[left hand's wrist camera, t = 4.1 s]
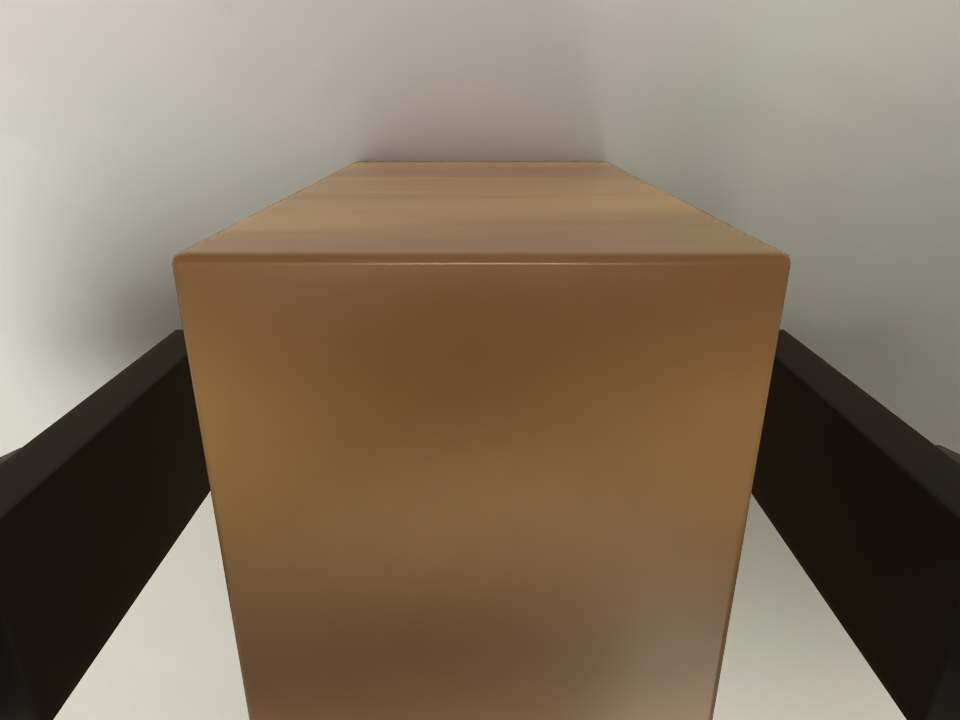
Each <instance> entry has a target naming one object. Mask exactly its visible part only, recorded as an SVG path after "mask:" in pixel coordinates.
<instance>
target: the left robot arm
mask: <svg viewBox="0 0 960 720" xmlns="http://www.w3.org/2000/svg"><path fill="white" fill-rule="evenodd" d="M210 490H211V489H210V483H209V478H208V472H207V466H206V460H205V454H204V448H203V442H202V436H201V430H200V425H199V419H198V413H197V407H196V401H195V395H194V389H193V383H192V377H191V372H190V366H189V360H188V354H187V348H186V342H185V336H184V330H175V331H174V332H173V333H171V334H170V335H169V336H167V337H166V338H165V339H164V340H162V341H161V342H160V343H158V344H157V345H156V346H154V347H153V348H152V349H150V350H149V351H148V352H147V353H145V354H144V355H143V356H141V357H140V358H139V359H137V360H136V361H135V362H133V363H132V364H131V365H130V366H128V367H127V368H126V369H124V370H123V371H122V372H120V373H119V374H118V375H116V376H115V377H114V378H113V379H111V380H110V381H109V382H107V383H106V384H105V385H103V386H102V387H101V388H99V389H98V390H97V391H96V392H94V393H93V394H92V395H90V396H89V397H88V398H86V399H85V400H84V401H82V402H81V403H80V404H79V405H77V406H76V407H75V408H73V409H72V410H71V411H69V412H68V413H67V414H65V415H64V416H63V417H61V418H60V419H59V420H58V421H56V422H55V423H54V424H52V425H51V426H50V427H48V428H47V429H46V430H44V431H43V432H42V433H41V434H39V435H38V436H37V437H35V438H34V439H33V440H31V441H30V442H29V443H27V444H26V445H25V446H24V447H22V448H19V449H17V450H15V451H13V452H11V453H8V454H6V455H4V456H2V457H0V720H53V719H54V718H55V716H56V715H57V713H58V712H59V710H60V709H61V707H62V706H63V705H64V703H65V702H66V700H67V699H68V697H69V696H70V694H71V693H72V691H73V690H74V689H75V687H76V686H77V684H78V683H79V681H80V680H81V678H82V677H83V675H84V674H85V673H86V671H87V670H88V668H89V667H90V665H91V664H92V662H93V661H94V659H95V658H96V656H97V655H98V654H99V652H100V651H101V649H102V648H103V646H104V645H105V643H106V642H107V640H108V639H109V638H110V636H111V635H112V633H113V632H114V630H115V629H116V627H117V626H118V624H119V623H120V622H121V620H122V619H123V617H124V616H125V614H126V613H127V611H128V610H129V608H130V607H131V605H132V604H133V603H134V601H135V600H136V598H137V597H138V595H139V594H140V592H141V591H142V589H143V588H144V587H145V585H146V584H147V582H148V581H149V579H150V578H151V576H152V575H153V573H154V572H155V571H156V569H157V568H158V566H159V565H160V563H161V562H162V560H163V559H164V557H165V556H166V554H167V553H168V552H169V550H170V549H171V547H172V546H173V544H174V543H175V541H176V540H177V538H178V537H179V536H180V534H181V533H182V531H183V530H184V528H185V527H186V525H187V524H188V522H189V521H190V520H191V518H192V517H193V515H194V514H195V512H196V511H197V509H198V508H199V506H200V505H201V503H202V502H203V501H204V499H205V498H206V496H207V495H208V493H209V492H210ZM751 493H752V495H753V496H754V498H755V499H756V501H757V502H758V503H759V505H760V506H761V508H762V509H763V511H764V512H765V514H766V515H767V517H768V518H769V520H770V521H771V522H772V524H773V525H774V527H775V528H776V530H777V531H778V533H779V534H780V536H781V537H782V538H783V540H784V541H785V543H786V544H787V546H788V547H789V549H790V550H791V552H792V553H793V554H794V556H795V557H796V559H797V560H798V562H799V563H800V565H801V566H802V568H803V569H804V570H805V572H806V573H807V575H808V576H809V578H810V579H811V581H812V582H813V584H814V585H815V587H816V588H817V589H818V591H819V592H820V594H821V595H822V597H823V598H824V600H825V601H826V603H827V604H828V605H829V607H830V608H831V610H832V611H833V613H834V614H835V616H836V617H837V619H838V620H839V621H840V623H841V624H842V626H843V627H844V629H845V630H846V632H847V633H848V635H849V636H850V638H851V639H852V640H853V642H854V643H855V645H856V646H857V648H858V649H859V651H860V652H861V654H862V655H863V656H864V658H865V659H866V661H867V662H868V664H869V665H870V667H871V668H872V670H873V671H874V672H875V674H876V675H877V677H878V678H879V680H880V681H881V683H882V684H883V686H884V687H885V689H886V690H887V691H888V693H889V694H890V696H891V697H892V699H893V700H894V702H895V703H896V705H897V706H898V707H899V709H900V710H901V712H902V713H903V715H904V716H905V718H906V719H907V720H960V454H958V453H955V452H953V451H951V450H949V449H947V448H945V447H943V446H940V445H934V444H933V443H931V442H930V441H929V440H927V439H926V438H925V437H923V436H922V435H921V434H919V433H918V432H917V431H916V430H914V429H913V428H912V427H910V426H909V425H908V424H906V423H905V422H904V421H902V420H901V419H900V418H899V417H897V416H896V415H895V414H893V413H892V412H891V411H889V410H888V409H887V408H885V407H884V406H883V405H882V404H880V403H879V402H878V401H876V400H875V399H874V398H872V397H871V396H870V395H868V394H867V393H866V392H864V391H863V390H862V389H861V388H859V387H858V386H857V385H855V384H854V383H853V382H851V381H850V380H849V379H847V378H846V377H845V376H844V375H842V374H841V373H840V372H838V371H837V370H836V369H834V368H833V367H832V366H830V365H829V364H828V363H827V362H825V361H824V360H823V359H821V358H820V357H819V356H817V355H816V354H815V353H813V352H812V351H811V350H810V349H808V348H807V347H806V346H804V345H803V344H802V343H800V342H799V341H798V340H796V339H795V338H794V337H793V336H791V335H790V334H789V333H787V332H786V331H785V330H779V333H778V339H777V345H776V351H775V357H774V362H773V368H772V374H771V380H770V386H769V392H768V398H767V403H766V409H765V415H764V421H763V427H762V433H761V438H760V444H759V450H758V456H757V462H756V468H755V473H754V479H753V485H752V491H751Z"/></svg>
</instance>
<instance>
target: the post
mask: <svg viewBox="0 0 960 720" xmlns="http://www.w3.org/2000/svg"><path fill="white" fill-rule="evenodd" d="M172 266H173V272H174V277H175V283H176V289H177V295H178V301H179V307H180V313H181V319H182V325H183V330H184V336H185V342H186V348H187V354H188V360H189V366H190V372H191V377H192V383H193V389H194V395H195V401H196V407H197V413H198V419H199V425H200V430H201V436H202V442H203V448H204V454H205V460H206V466H207V472H208V478H209V483H210V489H211V495H212V501H213V507H214V513H215V519H216V525H217V531H218V536H219V542H220V548H221V554H222V560H223V566H224V572H225V578H226V584H227V589H228V595H229V601H230V607H231V613H232V619H233V625H234V631H235V637H236V642H237V648H238V654H239V660H240V666H241V672H242V678H243V684H244V689H245V695H246V701H247V707H248V713H249V719H250V720H712V719H713V713H714V707H715V701H716V695H717V689H718V684H719V678H720V672H721V666H722V660H723V654H724V649H725V643H726V637H727V631H728V625H729V619H730V613H731V608H732V602H733V596H734V590H735V584H736V578H737V573H738V567H739V561H740V555H741V549H742V543H743V538H744V532H745V526H746V520H747V514H748V508H749V503H750V497H751V491H752V485H753V479H754V473H755V468H756V462H757V456H758V450H759V444H760V438H761V433H762V427H763V421H764V415H765V409H766V403H767V398H768V392H769V386H770V380H771V374H772V368H773V362H774V357H775V351H776V345H777V339H778V333H779V327H780V322H781V316H782V310H783V304H784V298H785V292H786V287H787V281H788V275H789V269H790V259H789V256H788V255H786V254H784V253H783V252H781V251H779V250H777V249H775V248H773V247H771V246H769V245H767V244H765V243H763V242H761V241H759V240H757V239H755V238H753V237H751V236H749V235H747V234H745V233H743V232H742V231H740V230H738V229H736V228H734V227H732V226H730V225H728V224H726V223H724V222H722V221H720V220H718V219H716V218H714V217H712V216H710V215H708V214H706V213H704V212H702V211H701V210H699V209H697V208H695V207H693V206H691V205H689V204H687V203H685V202H683V201H681V200H679V199H677V198H675V197H673V196H671V195H669V194H667V193H665V192H663V191H662V190H660V189H658V188H656V187H654V186H652V185H650V184H648V183H646V182H644V181H642V180H640V179H638V178H636V177H634V176H632V175H630V174H628V173H626V172H624V171H622V170H621V169H619V168H617V167H615V166H613V165H611V164H609V163H607V162H355V163H353V164H351V165H349V166H347V167H345V168H343V169H342V170H340V171H338V172H336V173H334V174H332V175H330V176H328V177H326V178H324V179H322V180H320V181H318V182H316V183H314V184H312V185H310V186H308V187H306V188H304V189H303V190H301V191H299V192H297V193H295V194H293V195H291V196H289V197H287V198H285V199H283V200H281V201H279V202H277V203H275V204H273V205H271V206H269V207H267V208H265V209H264V210H262V211H260V212H258V213H256V214H254V215H252V216H250V217H248V218H246V219H244V220H242V221H240V222H238V223H236V224H234V225H232V226H230V227H228V228H226V229H225V230H223V231H221V232H219V233H217V234H215V235H213V236H211V237H209V238H207V239H205V240H203V241H201V242H199V243H197V244H195V245H193V246H191V247H189V248H187V249H186V250H184V251H182V252H180V253H178V254H176V255H174V257H173V262H172Z"/></svg>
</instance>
